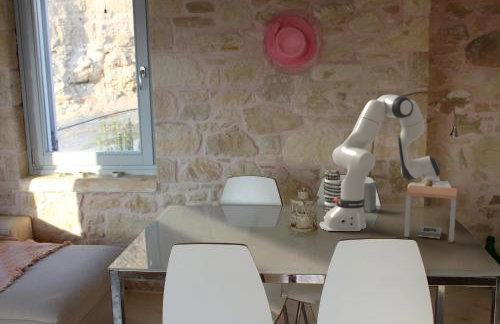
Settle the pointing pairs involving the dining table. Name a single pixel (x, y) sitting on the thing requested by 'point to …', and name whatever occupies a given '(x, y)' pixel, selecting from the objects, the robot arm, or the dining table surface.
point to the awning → (436, 193)
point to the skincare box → (370, 196)
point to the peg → (428, 199)
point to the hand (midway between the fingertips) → (428, 192)
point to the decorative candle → (331, 189)
